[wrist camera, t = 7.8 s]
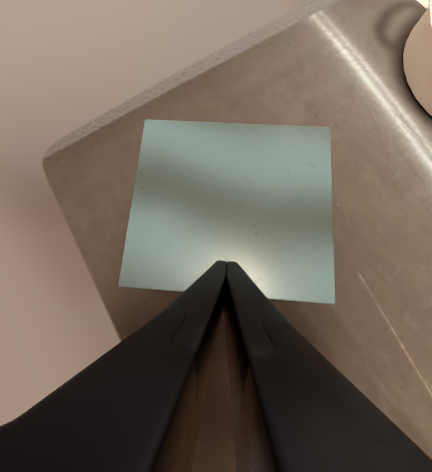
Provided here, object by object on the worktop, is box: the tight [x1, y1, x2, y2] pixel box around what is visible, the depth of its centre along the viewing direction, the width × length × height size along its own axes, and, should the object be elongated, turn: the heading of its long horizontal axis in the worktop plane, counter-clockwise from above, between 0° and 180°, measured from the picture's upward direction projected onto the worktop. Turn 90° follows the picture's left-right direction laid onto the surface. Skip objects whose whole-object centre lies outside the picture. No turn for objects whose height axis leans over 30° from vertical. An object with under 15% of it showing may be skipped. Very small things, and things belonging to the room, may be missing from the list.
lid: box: [118, 119, 335, 304], centre depth 17 cm, size 13×15×1 cm
